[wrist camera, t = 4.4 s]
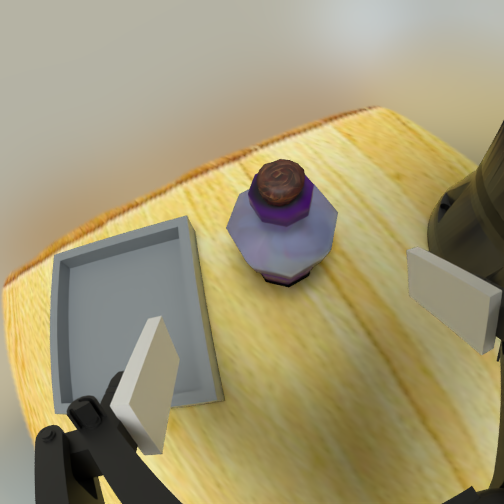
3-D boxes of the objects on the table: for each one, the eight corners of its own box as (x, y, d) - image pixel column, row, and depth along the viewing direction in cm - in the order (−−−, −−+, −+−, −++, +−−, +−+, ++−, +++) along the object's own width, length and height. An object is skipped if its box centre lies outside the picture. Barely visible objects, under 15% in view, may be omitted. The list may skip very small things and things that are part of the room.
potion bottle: (275, 207, 33) (267, 116, 22) (346, 250, 29) (372, 165, 19) (220, 268, 30) (184, 190, 19) (294, 321, 27) (297, 263, 16)
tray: (195, 231, 32) (186, 215, 30) (224, 400, 24) (217, 400, 22) (68, 266, 32) (54, 254, 30) (73, 415, 24) (55, 413, 22)
